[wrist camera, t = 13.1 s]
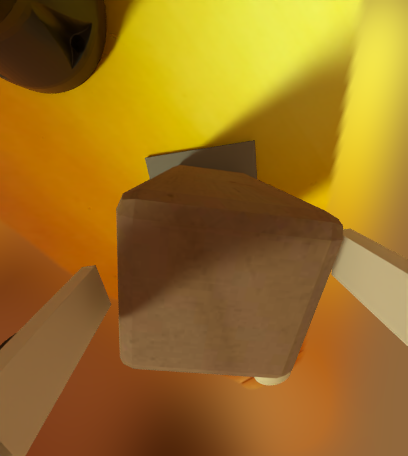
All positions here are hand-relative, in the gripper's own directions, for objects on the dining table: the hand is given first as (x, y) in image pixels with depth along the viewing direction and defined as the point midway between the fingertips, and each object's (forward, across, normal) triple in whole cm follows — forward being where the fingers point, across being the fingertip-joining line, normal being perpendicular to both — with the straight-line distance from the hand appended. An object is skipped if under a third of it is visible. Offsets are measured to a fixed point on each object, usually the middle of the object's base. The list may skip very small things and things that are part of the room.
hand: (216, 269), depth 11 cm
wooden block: (+18, 0, -1) cm, 18 cm away
